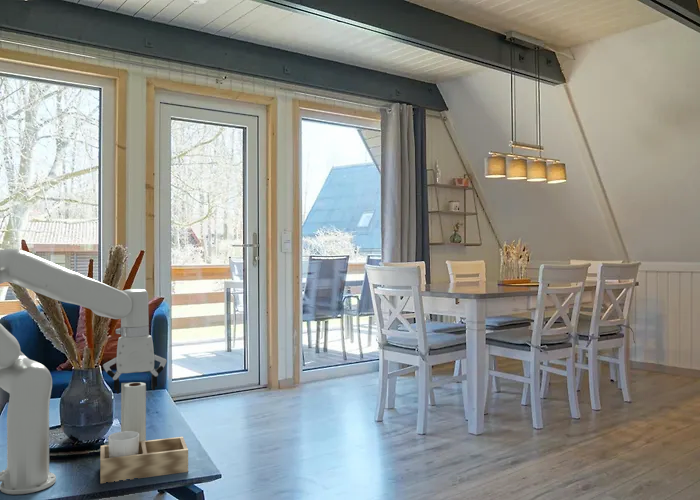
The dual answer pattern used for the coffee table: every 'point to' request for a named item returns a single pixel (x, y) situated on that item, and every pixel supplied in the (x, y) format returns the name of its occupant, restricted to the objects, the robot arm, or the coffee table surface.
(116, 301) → the robot arm
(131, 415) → the paper towel roll
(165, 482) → the coffee table surface
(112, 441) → the white cup
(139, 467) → the wooden caddy
